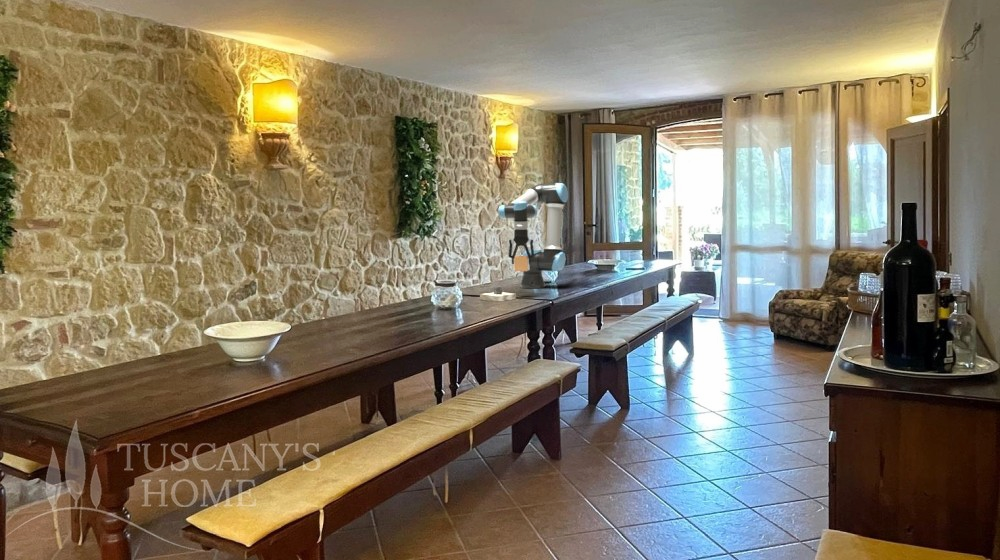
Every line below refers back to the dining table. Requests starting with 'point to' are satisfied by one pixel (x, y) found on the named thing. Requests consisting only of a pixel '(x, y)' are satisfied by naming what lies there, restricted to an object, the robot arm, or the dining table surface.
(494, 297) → the hub
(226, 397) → the dining table surface
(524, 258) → the orange block
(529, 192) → the robot arm
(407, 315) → the dining table surface
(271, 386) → the dining table surface
